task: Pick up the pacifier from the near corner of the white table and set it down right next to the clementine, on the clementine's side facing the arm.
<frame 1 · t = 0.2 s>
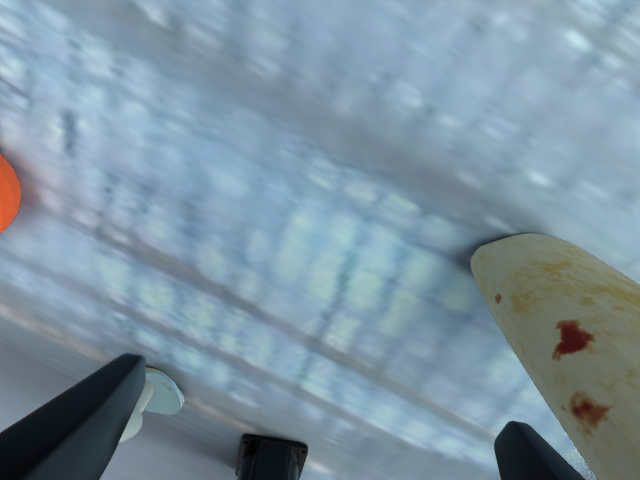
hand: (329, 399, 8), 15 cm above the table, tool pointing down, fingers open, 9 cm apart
food model: (523, 268, 23), on the table
pacifier: (151, 380, 29), on the table
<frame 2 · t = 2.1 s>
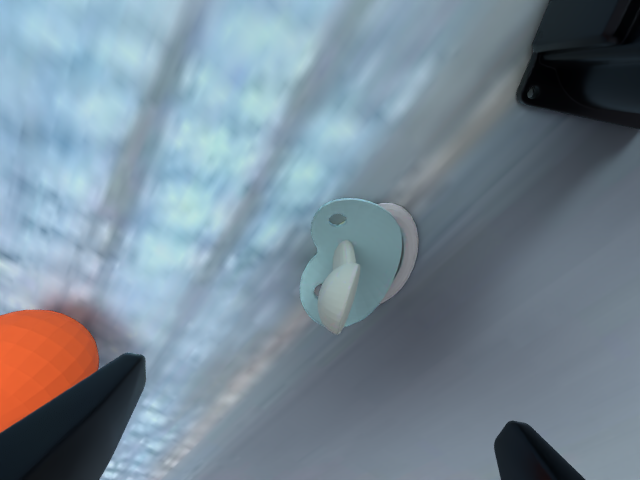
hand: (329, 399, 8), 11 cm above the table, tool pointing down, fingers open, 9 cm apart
clementine: (74, 334, 22), on the table
pacifier: (359, 249, 19), on the table
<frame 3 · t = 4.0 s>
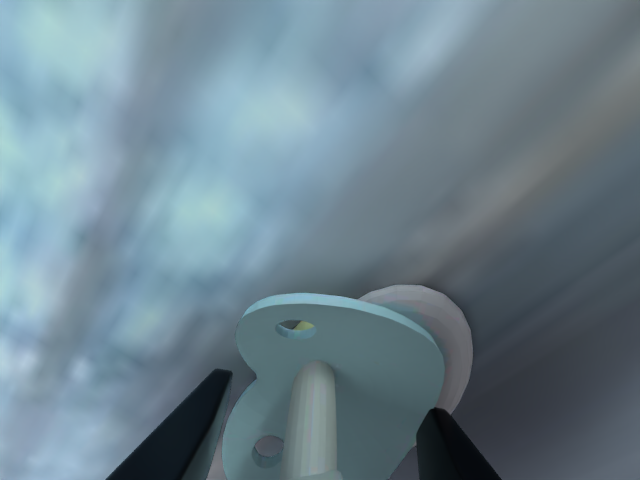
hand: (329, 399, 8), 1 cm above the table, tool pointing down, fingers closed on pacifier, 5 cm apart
pacifier: (349, 359, 9), on the table, touching gripper
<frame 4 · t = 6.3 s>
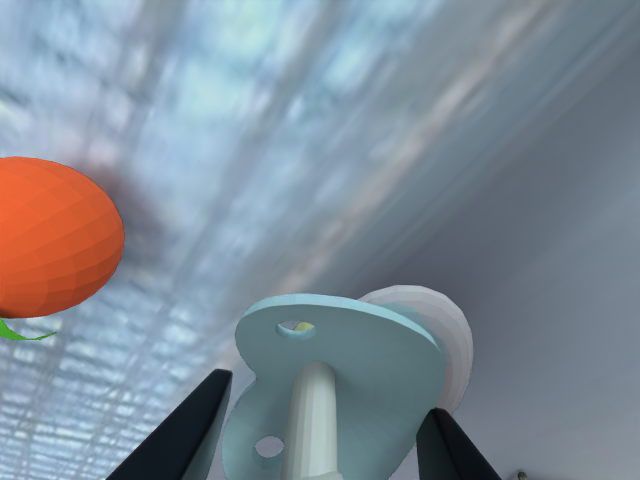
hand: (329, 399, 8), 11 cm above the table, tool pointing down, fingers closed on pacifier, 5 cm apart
clementine: (91, 217, 18), on the table
pacifier: (349, 360, 9), point 9 cm above the table, touching gripper
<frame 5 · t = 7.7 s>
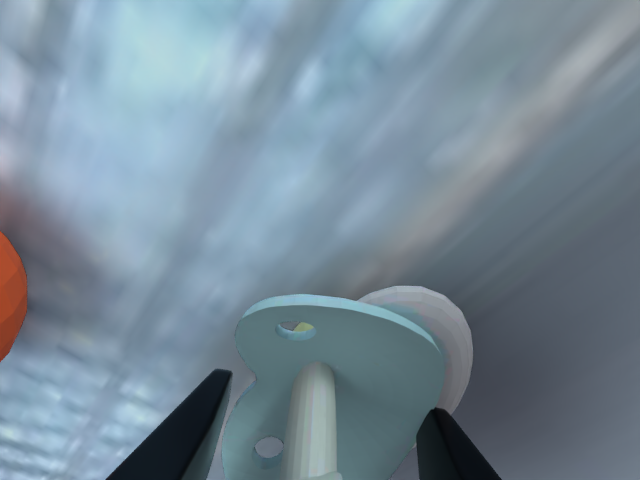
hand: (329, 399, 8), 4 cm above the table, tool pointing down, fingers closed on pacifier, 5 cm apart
pacifier: (349, 360, 9), point 3 cm above the table, touching gripper
when the fingers open (1 cm above the table, at t = 8.9 s): pacifier stays where it is, on the table.
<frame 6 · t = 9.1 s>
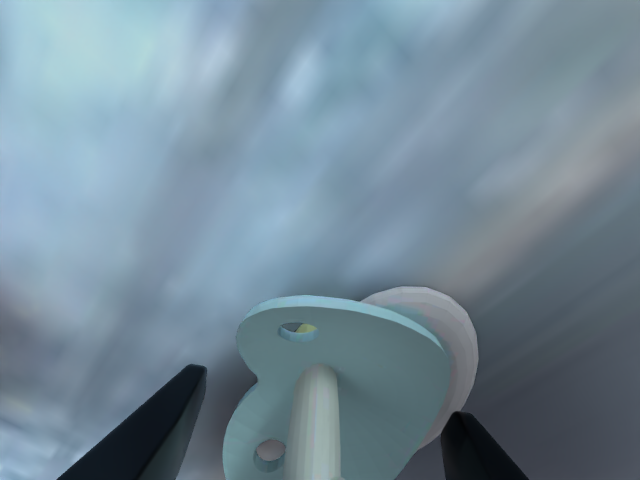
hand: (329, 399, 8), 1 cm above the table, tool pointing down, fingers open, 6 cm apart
pacifier: (352, 362, 9), on the table
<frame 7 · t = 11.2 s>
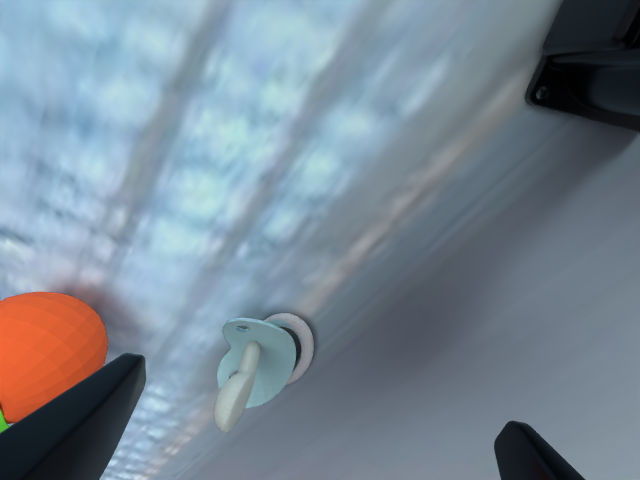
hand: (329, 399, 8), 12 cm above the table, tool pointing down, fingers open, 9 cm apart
clementine: (82, 318, 22), on the table
pacifier: (270, 341, 23), on the table
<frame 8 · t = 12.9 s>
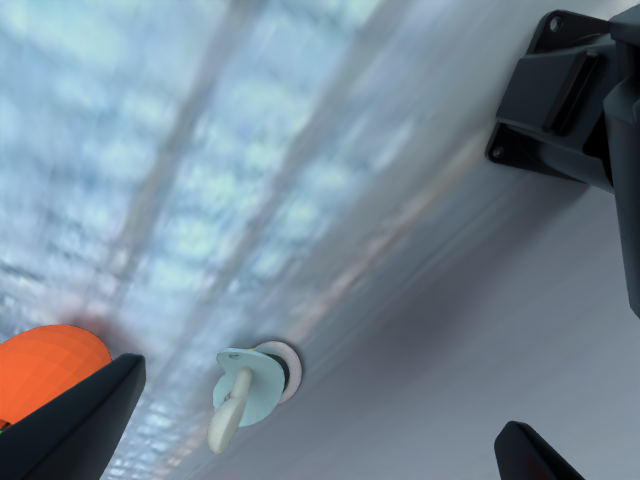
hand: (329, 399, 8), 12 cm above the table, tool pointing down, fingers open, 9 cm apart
clementine: (89, 345, 24), on the table
pacifier: (261, 365, 25), on the table
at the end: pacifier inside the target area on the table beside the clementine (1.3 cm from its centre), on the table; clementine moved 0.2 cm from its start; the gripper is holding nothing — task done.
